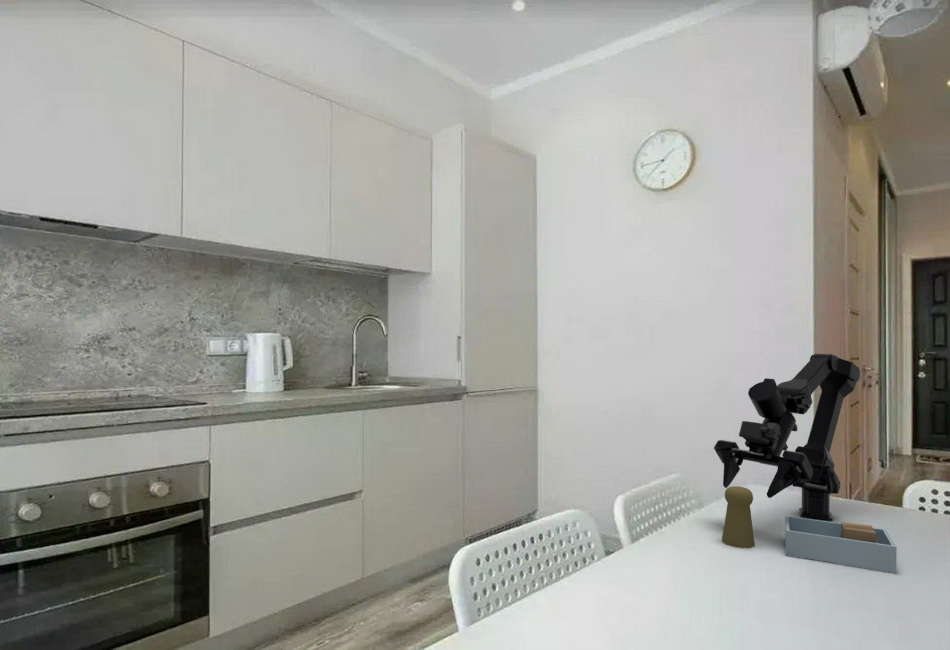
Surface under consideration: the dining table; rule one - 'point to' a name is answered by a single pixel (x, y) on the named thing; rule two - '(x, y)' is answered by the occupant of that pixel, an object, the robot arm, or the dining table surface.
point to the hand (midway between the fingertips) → (745, 491)
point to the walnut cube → (858, 532)
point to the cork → (738, 518)
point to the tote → (838, 545)
